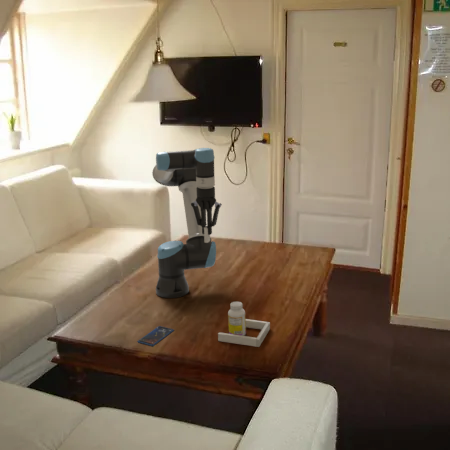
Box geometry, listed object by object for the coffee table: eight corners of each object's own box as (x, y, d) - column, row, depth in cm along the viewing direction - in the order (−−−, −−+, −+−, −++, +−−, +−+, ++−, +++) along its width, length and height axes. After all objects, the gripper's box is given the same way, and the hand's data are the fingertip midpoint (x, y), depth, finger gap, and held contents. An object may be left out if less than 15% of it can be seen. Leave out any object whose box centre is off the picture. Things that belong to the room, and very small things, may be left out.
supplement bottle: (236, 328, 230) (235, 298, 227) (249, 333, 226) (248, 303, 222) (225, 334, 226) (224, 304, 222) (238, 339, 221) (237, 309, 218)
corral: (218, 340, 221) (218, 333, 220) (231, 323, 235) (230, 317, 234) (259, 347, 216) (259, 339, 215) (269, 329, 229) (269, 322, 229)
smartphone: (136, 341, 221) (159, 325, 234) (136, 343, 221) (159, 327, 234) (152, 345, 218) (174, 329, 230) (152, 347, 218) (174, 331, 230)
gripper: (187, 187, 235) (189, 243, 242) (217, 189, 231) (218, 245, 238) (194, 183, 242) (196, 237, 249) (223, 185, 238) (225, 240, 244)
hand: (207, 241), depth 243 cm, fingers closed
